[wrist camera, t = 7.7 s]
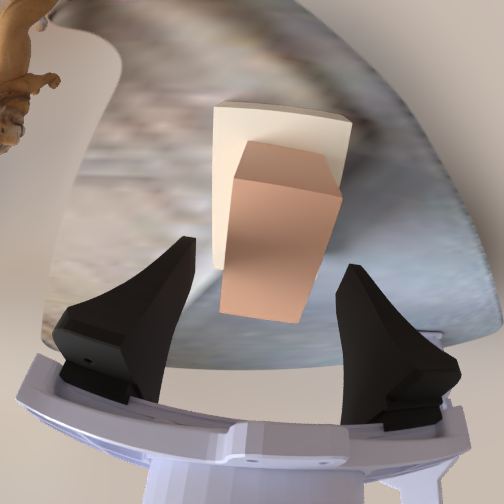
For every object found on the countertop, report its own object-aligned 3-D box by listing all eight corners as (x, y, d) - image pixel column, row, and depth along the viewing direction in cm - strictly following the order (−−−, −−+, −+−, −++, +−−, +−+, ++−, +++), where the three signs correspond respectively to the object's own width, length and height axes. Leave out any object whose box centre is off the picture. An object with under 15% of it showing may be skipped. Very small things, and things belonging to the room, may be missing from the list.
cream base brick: (340, 113, 17) (352, 123, 14) (312, 252, 24) (316, 279, 22) (224, 100, 17) (213, 106, 15) (220, 242, 25) (212, 268, 22)
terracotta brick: (322, 154, 16) (343, 197, 11) (294, 259, 21) (297, 323, 16) (247, 140, 16) (233, 178, 11) (233, 249, 21) (219, 312, 16)
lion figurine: (72, 126, 18) (-5, 169, 11) (33, 130, 18) (-38, 171, 11) (85, -32, 9) (8, -46, 2) (41, -13, 9) (-34, -12, 2)
